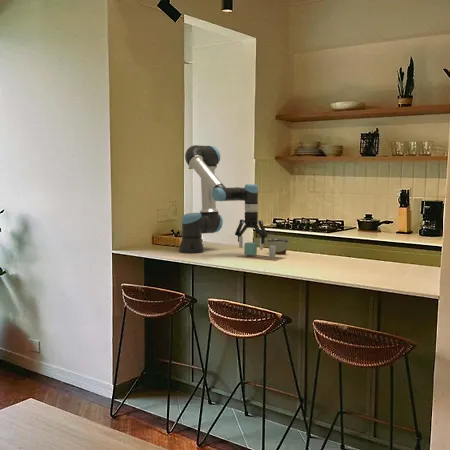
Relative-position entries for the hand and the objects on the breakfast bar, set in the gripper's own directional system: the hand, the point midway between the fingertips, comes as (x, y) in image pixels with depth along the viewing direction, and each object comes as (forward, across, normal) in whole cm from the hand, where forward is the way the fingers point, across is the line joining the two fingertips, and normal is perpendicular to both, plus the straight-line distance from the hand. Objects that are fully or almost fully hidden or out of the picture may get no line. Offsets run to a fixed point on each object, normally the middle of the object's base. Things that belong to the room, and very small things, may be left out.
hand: (250, 248), depth 320 cm
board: (+5, +7, 0) cm, 8 cm away
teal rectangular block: (+3, 0, 0) cm, 3 cm away
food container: (+5, +8, +18) cm, 20 cm away
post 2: (+4, +14, 0) cm, 14 cm away
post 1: (+4, 0, 0) cm, 4 cm away
